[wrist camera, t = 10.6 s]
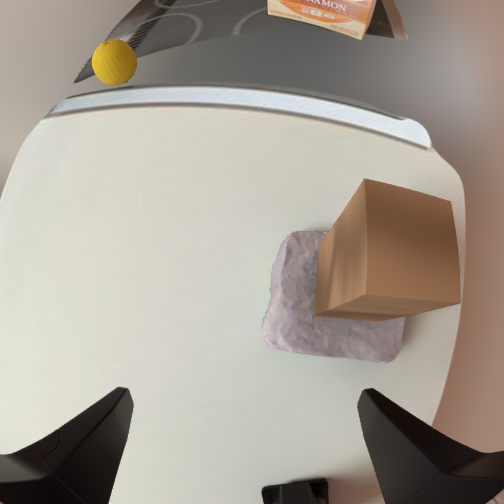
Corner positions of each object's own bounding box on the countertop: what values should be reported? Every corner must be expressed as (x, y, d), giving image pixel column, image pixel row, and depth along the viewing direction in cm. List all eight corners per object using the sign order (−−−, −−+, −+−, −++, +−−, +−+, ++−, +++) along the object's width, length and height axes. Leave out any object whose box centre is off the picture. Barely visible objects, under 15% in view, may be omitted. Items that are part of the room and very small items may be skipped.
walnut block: (378, 321, 18) (460, 303, 9) (312, 316, 18) (365, 294, 9) (380, 255, 19) (450, 201, 11) (318, 246, 19) (364, 178, 11)
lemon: (152, 73, 28) (131, 30, 20) (121, 101, 28) (93, 61, 20) (130, 64, 29) (109, 27, 21) (102, 90, 28) (75, 55, 21)
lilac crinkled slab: (275, 239, 25) (255, 349, 22) (280, 214, 21) (257, 348, 17) (391, 261, 25) (384, 363, 21) (415, 242, 20) (412, 363, 17)
